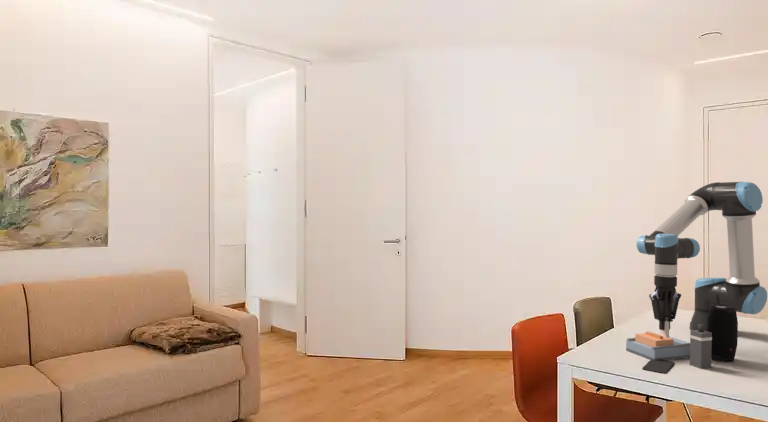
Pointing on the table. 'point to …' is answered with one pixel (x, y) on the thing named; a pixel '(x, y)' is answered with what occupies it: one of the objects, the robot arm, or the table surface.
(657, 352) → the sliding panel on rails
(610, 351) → the table surface
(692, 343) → the grey bottle-shaped block
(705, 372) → the table surface
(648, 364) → the phone
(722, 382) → the table surface
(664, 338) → the panel
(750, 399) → the table surface
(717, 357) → the portable speaker
